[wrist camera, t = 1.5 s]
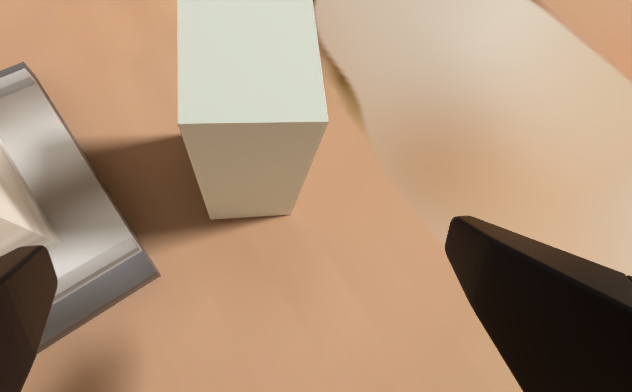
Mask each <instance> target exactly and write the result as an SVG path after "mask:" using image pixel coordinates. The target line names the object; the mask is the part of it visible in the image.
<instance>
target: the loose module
mask: <svg viewBox="0 0 632 392" xmlns="http://www.w3.org/2000/svg"><path fill="white" fill-rule="evenodd" d="M177 15H178V126H179V129H180V132H181V134H182V137H183V140H184V143H185V146H186V149H187V152H188V155H189V158H190V161H191V164H192V167H193V170H194V173H195V176H196V179H197V182H198V185H199V188H200V191H201V193H202V196H203V199H204V202H205V205H206V208H207V211H208V214H209V217H210V220H213V219H229V218H245V217H262V216H278V215H290V214H291V212H292V210H293V207H294V205H295V202H296V200H297V197H298V195H299V193H300V190H301V188H302V185H303V183H304V180H305V178H306V175H307V173H308V171H309V168H310V166H311V163H312V161H313V158H314V156H315V154H316V151H317V149H318V146H319V144H320V141H321V139H322V137H323V134H324V132H325V129H326V127H327V124H328V122H329V121H328V114H327V106H326V99H325V91H324V84H323V76H322V69H321V61H320V54H319V46H318V39H317V31H316V24H315V16H314V8H313V1H312V0H177Z"/></svg>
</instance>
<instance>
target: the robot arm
mask: <svg viewBox="0 0 632 392" xmlns="http://www.w3.org/2000/svg"><path fill="white" fill-rule="evenodd" d="M445 251H446V255H447V257H448V259H449V261H450V263H451V265H452V267H453V270H454V272H455V274H456V276H457V278H458V280H459V282H460V284H461V286H462V289H463V291H464V293H465V295H466V297H467V299H468V301H469V303H470V305H471V306H472V308H473V310H474V312H475V313H476V315H477V317H478V318H479V320H480V322H481V323H482V325H483V327H484V328H485V330H486V331H487V333H488V335H489V336H490V338H491V340H492V341H493V343H494V345H495V346H496V348H497V349H498V351H499V353H500V354H501V356H502V358H503V359H504V361H505V363H506V364H507V366H508V367H509V369H510V371H511V372H512V374H513V376H514V377H515V379H516V381H517V382H518V384H519V385H520V387H521V389H522V390H523V392H632V276H626V275H625V274H624V273H621V272H618V271H615V270H613V269H610V268H608V267H605V266H602V265H600V264H597V263H594V262H591V261H589V260H586V259H584V258H581V257H578V256H576V255H573V254H570V253H568V252H565V251H562V250H560V249H557V248H554V247H552V246H549V245H546V244H544V243H541V242H538V241H536V240H533V239H530V238H528V237H525V236H522V235H520V234H517V233H514V232H512V231H509V230H507V229H504V228H501V227H499V226H496V225H493V224H490V223H488V222H485V221H483V220H480V219H477V218H475V217H471V216H457V217H454V218H453V219H452V220H451V222H450V226H449V230H448V235H447V239H446V243H445ZM57 286H58V280H57V275H56V272H55V269H54V266H53V263H52V260H51V257H50V254H49V252H48V250H47V248H46V247H44V246H43V245H33V246H22V247H18V248H16V249H14V250H12V251H10V252H8V253H6V254H4V255H2V256H0V392H21V390H22V388H23V385H24V383H25V381H26V378H27V376H28V374H29V372H30V369H31V367H32V365H33V362H34V360H35V357H36V355H37V352H38V349H39V346H40V343H41V339H42V336H43V333H44V330H45V326H46V323H47V320H48V317H49V313H50V310H51V307H52V304H53V300H54V297H55V294H56V291H57Z"/></svg>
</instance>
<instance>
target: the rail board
mask: <svg viewBox="0 0 632 392" xmlns="http://www.w3.org/2000/svg"><path fill="white" fill-rule="evenodd" d="M33 245H43V246H44V247H46V248H47V250H48V252H49V254H50V257H51V260H52V263H53V266H54V269H55V272H56V275H57V280H58V286H57V291H56V294H55V297H54V300H53V304H52V307H51V310H50V313H49V317H48V320H47V323H46V326H45V330H44V333H43V336H42V339H41V343H40V346H39V349H38V352H37V354H38V353H39V352H41V351H42V350H44V349H46V348H47V347H49V346H50V345H52V344H53V343H55V342H57V341H58V340H60V339H61V338H63V337H64V336H66V335H68V334H69V333H71V332H72V331H74V330H75V329H77V328H79V327H80V326H82V325H83V324H85V323H87V322H88V321H90V320H91V319H93V318H94V317H96V316H98V315H99V314H101V313H102V312H104V311H105V310H107V309H109V308H110V307H112V306H113V305H115V304H116V303H118V302H120V301H121V300H123V299H124V298H126V297H127V296H129V295H131V294H132V293H134V292H135V291H137V290H139V289H140V288H142V287H143V286H145V285H146V284H148V283H150V282H151V281H153V280H154V279H156V278H157V277H159V276H161V275H160V273H159V272H158V270H157V269H156V267H155V265H154V264H153V262H152V261H151V259H150V257H149V256H148V254H147V253H146V251H145V249H144V248H143V246H142V245H141V243H140V242H139V240H138V238H137V237H136V235H135V234H134V232H133V230H132V229H131V227H130V226H129V224H128V222H127V221H126V219H125V218H124V216H123V214H122V213H121V211H120V210H119V208H118V206H117V205H116V203H115V202H114V200H113V199H112V197H111V195H110V194H109V192H108V191H107V189H106V187H105V186H104V184H103V183H102V181H101V179H100V178H99V176H98V175H97V173H96V171H95V170H94V168H93V167H92V165H91V164H90V162H89V160H88V159H87V157H86V156H85V154H84V152H83V151H82V149H81V148H80V146H79V144H78V143H77V141H76V140H75V138H74V136H73V135H72V133H71V132H70V130H69V128H68V127H67V125H66V124H65V122H64V121H63V119H62V117H61V116H60V114H59V113H58V111H57V109H56V108H55V106H54V105H53V103H52V101H51V100H50V98H49V97H48V95H47V93H46V92H45V90H44V89H43V87H42V86H41V84H40V82H39V81H38V79H37V78H36V76H35V75H34V73H33V72H32V71H31V70H30V69H29V67H28V66H27V65H26V64H25V63H24V62H22V63H20V64H17V65H15V66H12V67H9V68H7V69H4V70H2V71H0V256H2V255H4V254H6V253H8V252H10V251H12V250H14V249H16V248H18V247H22V246H33Z"/></svg>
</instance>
